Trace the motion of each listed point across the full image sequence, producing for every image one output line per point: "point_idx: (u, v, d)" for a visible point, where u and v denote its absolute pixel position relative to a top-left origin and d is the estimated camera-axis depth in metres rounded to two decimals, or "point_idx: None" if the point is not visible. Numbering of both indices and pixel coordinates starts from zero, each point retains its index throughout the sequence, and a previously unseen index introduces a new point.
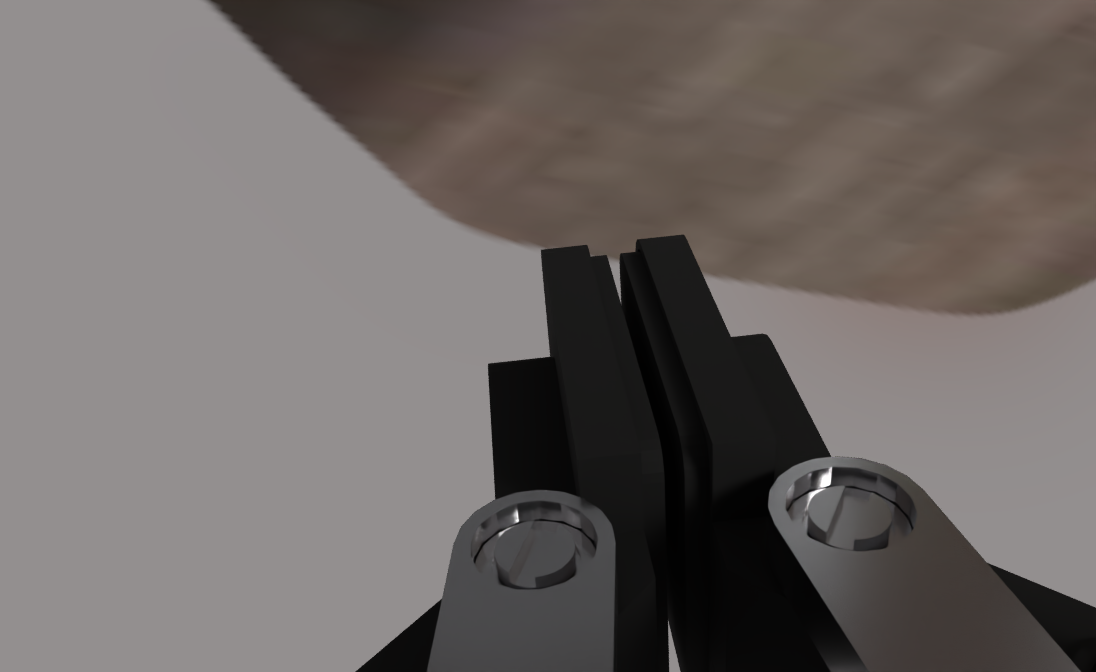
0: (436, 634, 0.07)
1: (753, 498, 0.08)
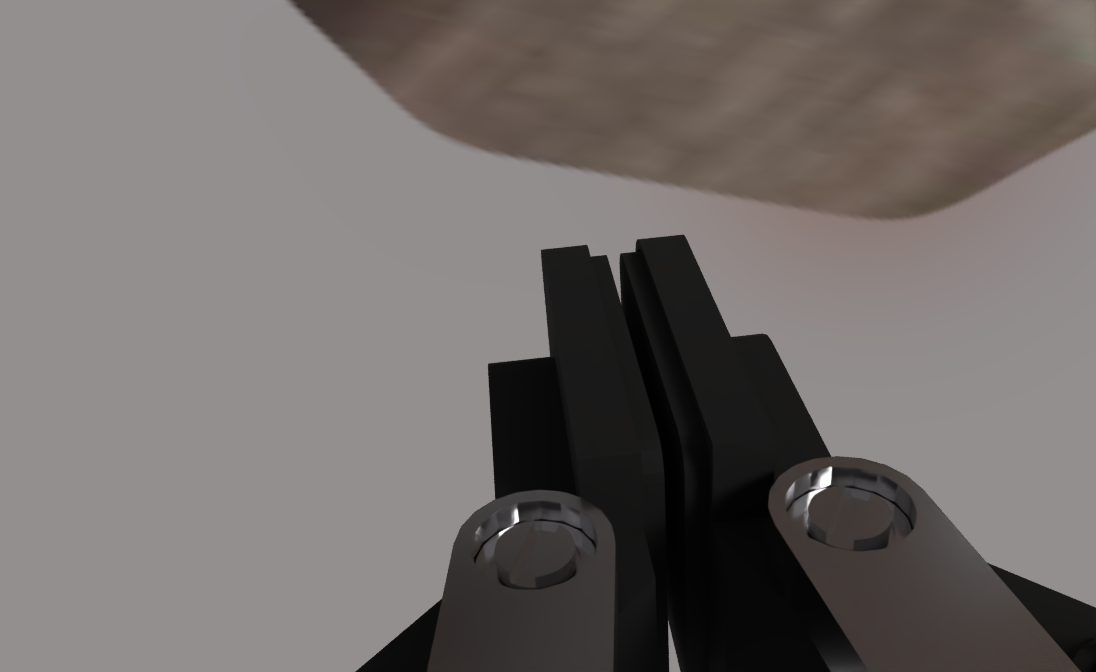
0: (436, 634, 0.07)
1: (753, 498, 0.08)
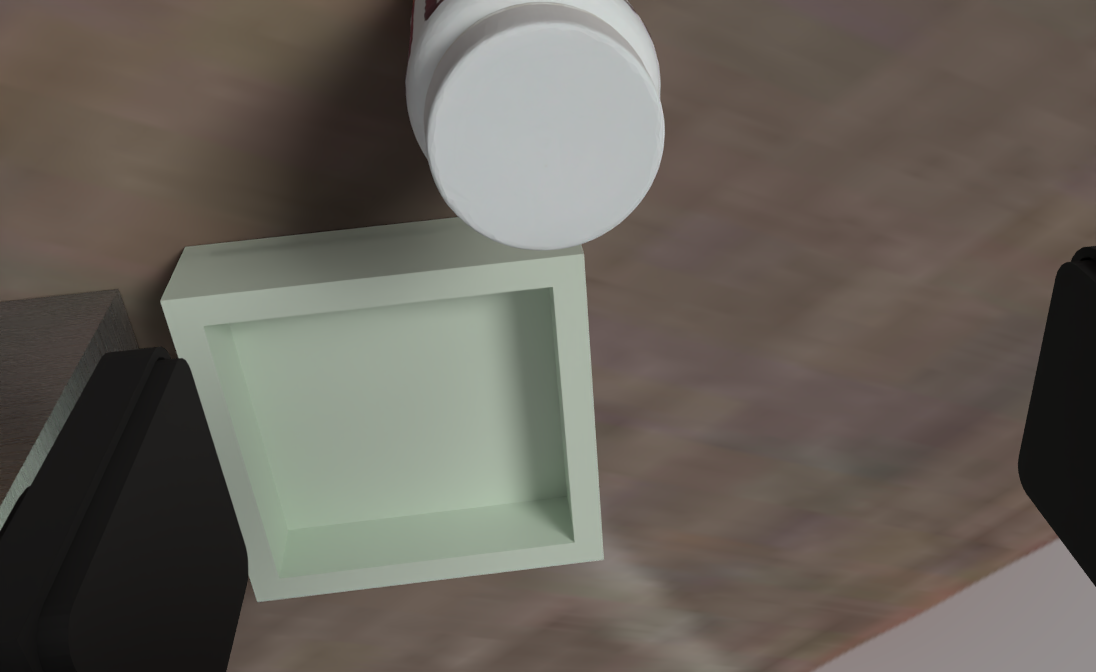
0: None
1: None
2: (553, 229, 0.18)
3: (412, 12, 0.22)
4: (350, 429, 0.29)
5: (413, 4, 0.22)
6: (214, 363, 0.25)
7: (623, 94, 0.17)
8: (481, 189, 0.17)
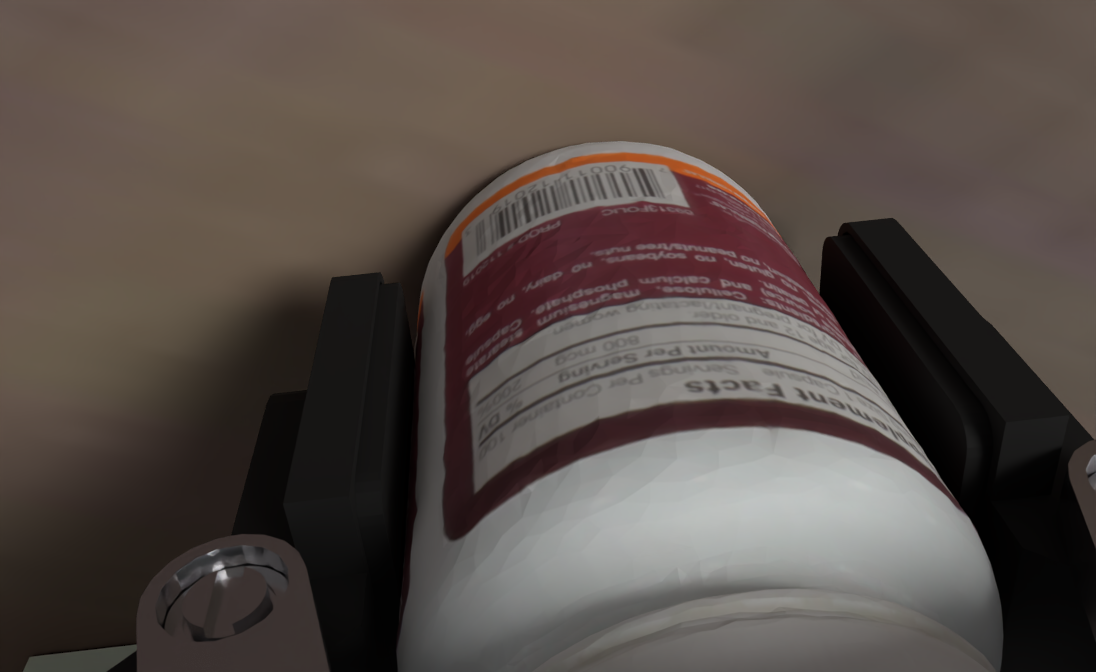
0: None
1: (1035, 477, 0.08)
2: None
3: (417, 362, 0.11)
4: None
5: (419, 328, 0.11)
6: None
7: None
8: None
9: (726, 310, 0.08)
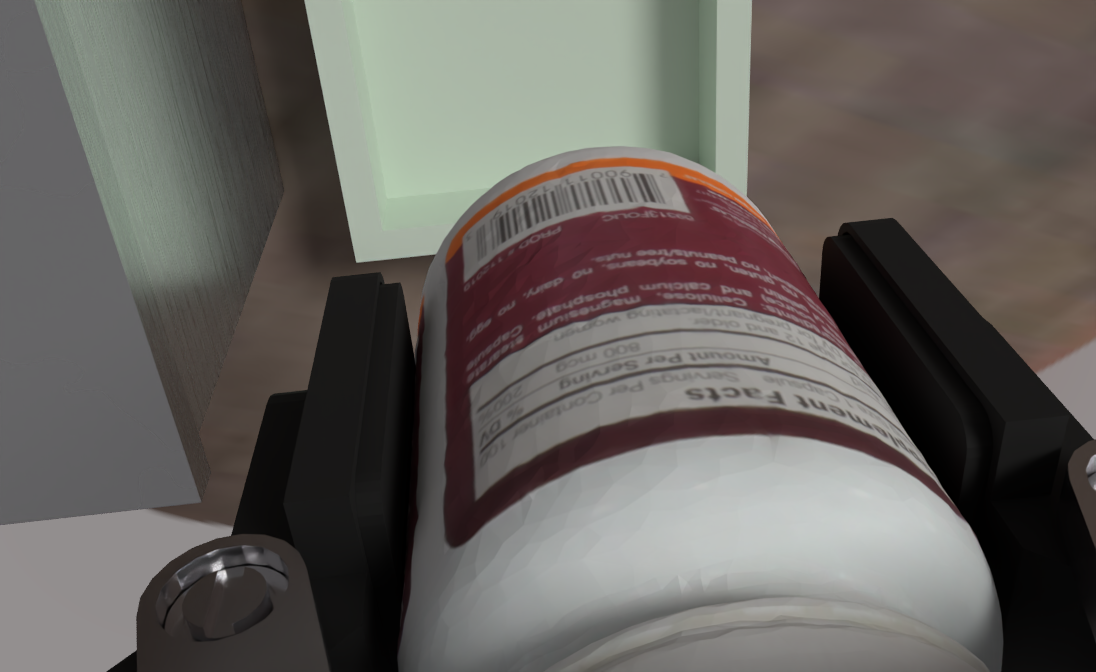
0: None
1: (1035, 477, 0.08)
2: None
3: (418, 366, 0.11)
4: (464, 62, 0.25)
5: (420, 333, 0.11)
6: None
7: None
8: None
9: (727, 316, 0.08)
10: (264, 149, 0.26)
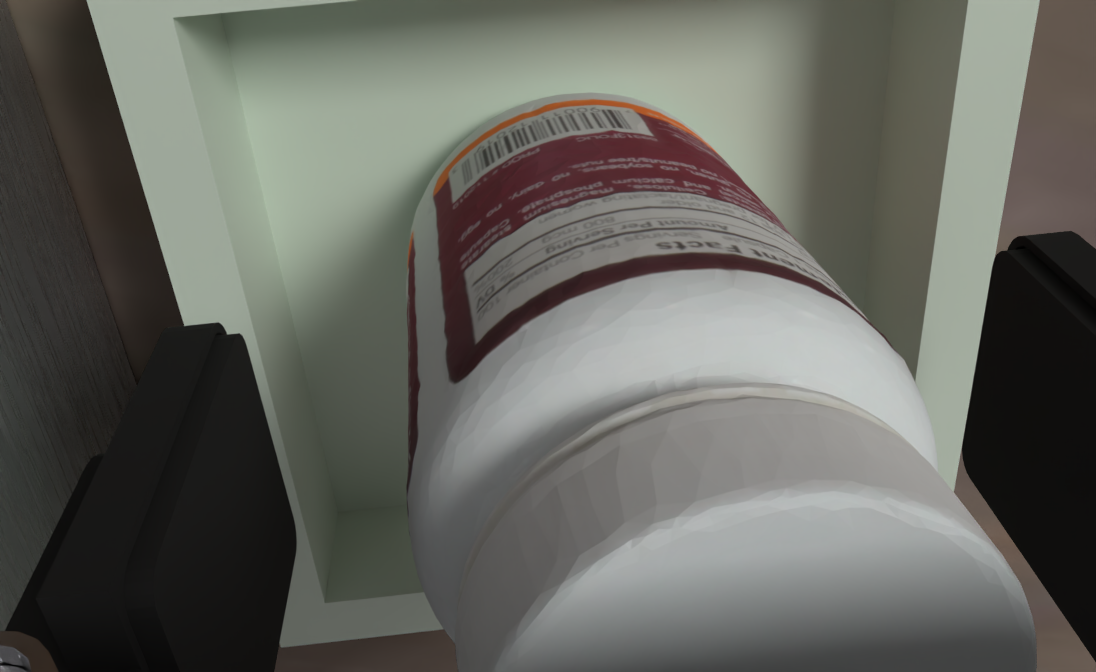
0: None
1: None
2: None
3: (411, 284, 0.12)
4: None
5: (411, 260, 0.12)
6: (200, 119, 0.11)
7: (954, 625, 0.07)
8: None
9: (690, 200, 0.10)
10: None
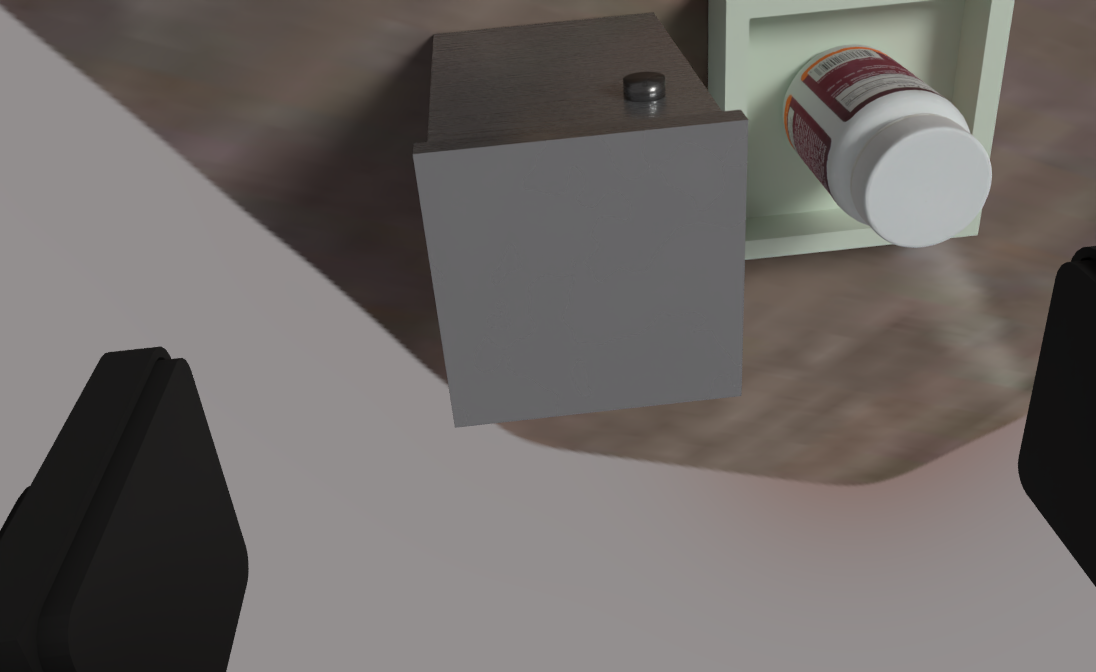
0: None
1: None
2: (924, 235, 0.32)
3: (800, 109, 0.36)
4: None
5: (794, 103, 0.37)
6: (748, 50, 0.35)
7: (972, 162, 0.31)
8: (889, 214, 0.32)
9: (902, 75, 0.34)
10: None
